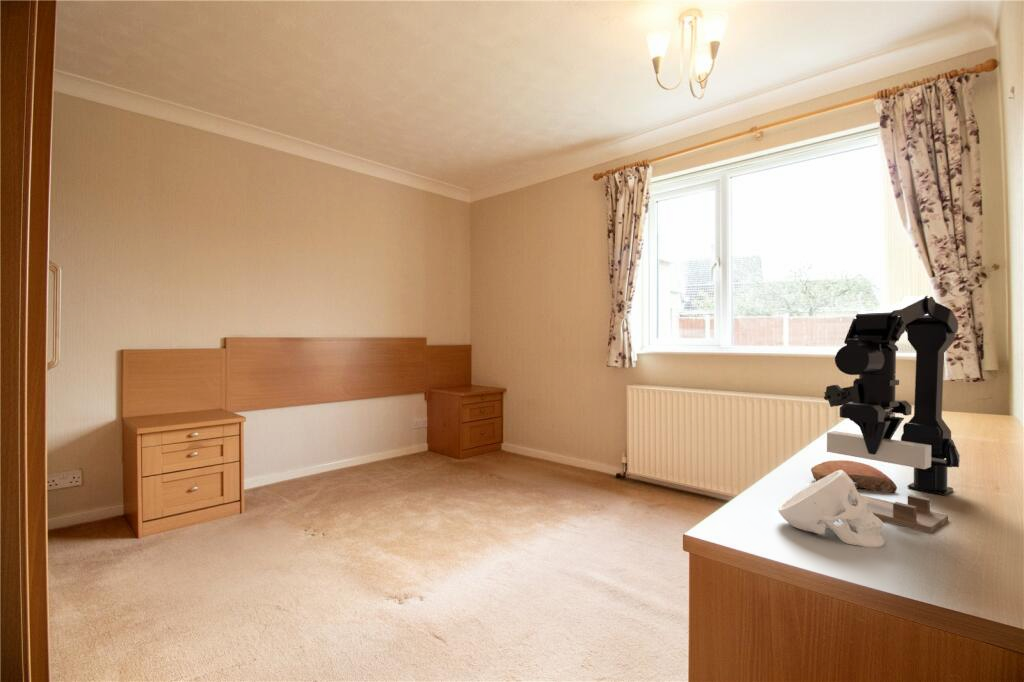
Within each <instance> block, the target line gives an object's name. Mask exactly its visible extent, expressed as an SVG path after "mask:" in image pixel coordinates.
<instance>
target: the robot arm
mask: <svg viewBox="0 0 1024 682" xmlns="http://www.w3.org/2000/svg"><path fill="white" fill-rule="evenodd" d="M958 331H959V320H958V318H957V317H956V315H955V313H954V312H953V310H952V309H951V308H949V307H946V306H945V305H943V304H941V303H939V302H936V300H935V299H934V297H933V296H929V295H919V296H914V295H913V296H905V297H904V298H901V299H900V301H898V302H895V303H893V304H891V305H889V306H886V307H885V308H882V309H878V310H875V309H874V310H863V311H862V310H861V311H859V312H858V313H857V314H855V317H854V318H852V321H851V324H850V326H849V328H848V331H847V333H846V336H845V338H844V341H843V343H844V346H841V347H840V348H839V349H838V350H837V352H836V355H835V356H834V364H835V366H836V368H837V369H838V370H839V371H841V372H842V373H844V374H846V375H848V376H849V375H850V376H858V377H857V378H854V379H853V382H852V383H853V385H851V386H848V387H840V385H839V384H832V385H828V386H826V389H825V392H824V397H823V399H824V400H825V401H828V404H829V407H831V408H833V407H839V418H841V419H849V420H850V421H852V422H853V423H854V424H855V425H856V426H857V427H859V430H860V432H861V435H863V438H864V441H865V444H866V447H867V450H868V453H869V454H873V455H875V454H876V453H877V451H878V448H879V446H880V444H881V442H882V439H883V438H885V439H892V437H893V436H894V435H895V433H896V431H897V430H898V428H899V427H900V426H901V423H902V421H904V419H905V418H904V417H899V416H896V414H902V415H903V416H911V415H912V405H911V403H909V402H908V401H907V400H901V399H896V386H900V379H896V373H897V372H896V371H897V370H896V368H897V367H896V365H897V364H896V363H897V361H896V359H897V352H899V347H898V346H897V345H896V343H897V342H899V341H900V339H901V337H902V335H903V334H904V333H905V332H906V333H907V334H906V335H907V337H906V338H907V341H908V343H909V344H910V345H911V347H912V348H913V349H914V351H915V353H916V354H915V355H916V356H915V380H914V381H915V382H914V402H913V403H914V405H913V406H914V407H913V416H912V417H911V418H910V419H909V420H908V422H905V423H904V424H903V426H902V428H903V429H902V430H903V431H902V432H903V433H902V434H901V437H900V441H906V442H913V443H920V444H927V445H931V467H929V468H927V469H920V468H915V467H913V482H912V483H909V484H907V488H908V489H913V490H918V491H921V492H928V493H933V494H938V495H941V496H943V495H944V496H947V495H948V494H949V493H951V492H953V491H954V488H953V487H950V486H948V468H959V467H960V461H961V460H960V457H961V455H960V452H959V451H958V449H957V447H956V445H955V442H954V440H953V439H952V430H951V429H950V428H949V426H948V425H947V423H946V422H945V421H944V419H943V389H944V387H943V385H944V366H945V365H944V361H945V359H944V357H945V352H947V351H948V349H949V348H950V347H951V346H952V345H953V344H954V342H955V339H956V338H955V337H956V336H955V335H956V334H957V332H958Z"/></svg>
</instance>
